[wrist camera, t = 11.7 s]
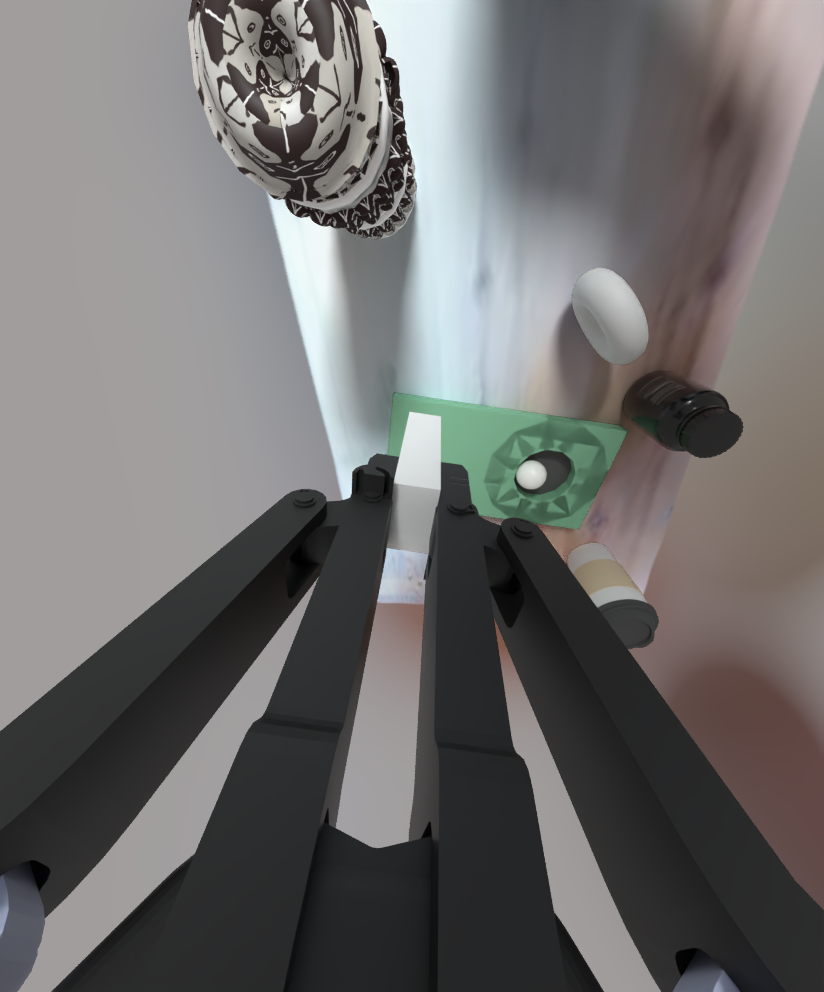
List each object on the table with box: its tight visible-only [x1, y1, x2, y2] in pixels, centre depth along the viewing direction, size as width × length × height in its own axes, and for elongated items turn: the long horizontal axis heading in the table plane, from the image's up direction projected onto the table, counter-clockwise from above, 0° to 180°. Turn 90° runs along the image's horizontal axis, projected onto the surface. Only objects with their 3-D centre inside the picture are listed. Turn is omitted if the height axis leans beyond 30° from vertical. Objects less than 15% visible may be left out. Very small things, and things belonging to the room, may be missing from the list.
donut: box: [572, 268, 649, 365], centre depth 35 cm, size 10×4×10 cm, turn 38°
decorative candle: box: [188, 0, 417, 240], centre depth 24 cm, size 9×9×25 cm
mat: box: [387, 393, 628, 529], centre depth 49 cm, size 16×30×2 cm, turn 83°
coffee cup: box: [567, 543, 659, 649], centre depth 52 cm, size 9×9×15 cm
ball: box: [516, 460, 547, 489], centre depth 48 cm, size 4×4×4 cm
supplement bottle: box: [623, 371, 743, 458], centre depth 38 cm, size 7×7×12 cm
